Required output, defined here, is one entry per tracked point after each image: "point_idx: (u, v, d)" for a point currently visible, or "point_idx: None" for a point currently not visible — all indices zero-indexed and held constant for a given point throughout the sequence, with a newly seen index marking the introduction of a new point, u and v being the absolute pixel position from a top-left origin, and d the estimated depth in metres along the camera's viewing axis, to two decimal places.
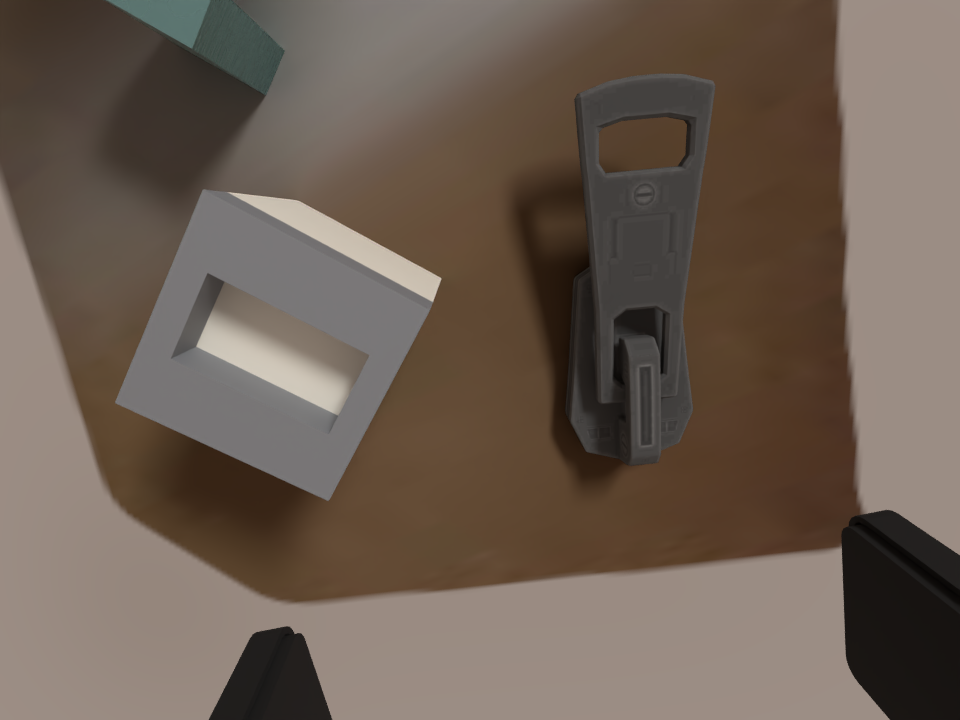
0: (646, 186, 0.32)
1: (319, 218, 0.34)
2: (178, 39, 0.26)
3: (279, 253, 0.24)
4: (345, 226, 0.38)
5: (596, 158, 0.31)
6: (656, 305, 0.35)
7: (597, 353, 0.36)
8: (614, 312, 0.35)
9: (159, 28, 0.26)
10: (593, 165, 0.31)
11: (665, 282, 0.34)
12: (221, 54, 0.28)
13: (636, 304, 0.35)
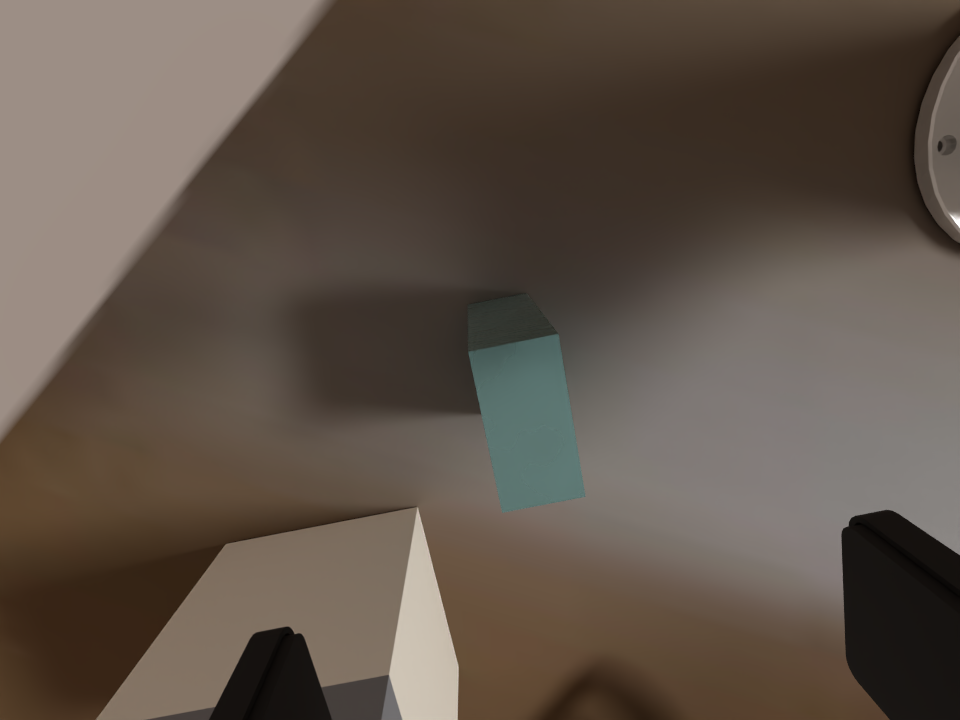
0: None
1: (423, 582, 0.28)
2: (500, 496, 0.19)
3: None
4: (431, 562, 0.31)
5: None
6: None
7: None
8: None
9: (495, 471, 0.19)
10: None
11: None
12: None
13: None
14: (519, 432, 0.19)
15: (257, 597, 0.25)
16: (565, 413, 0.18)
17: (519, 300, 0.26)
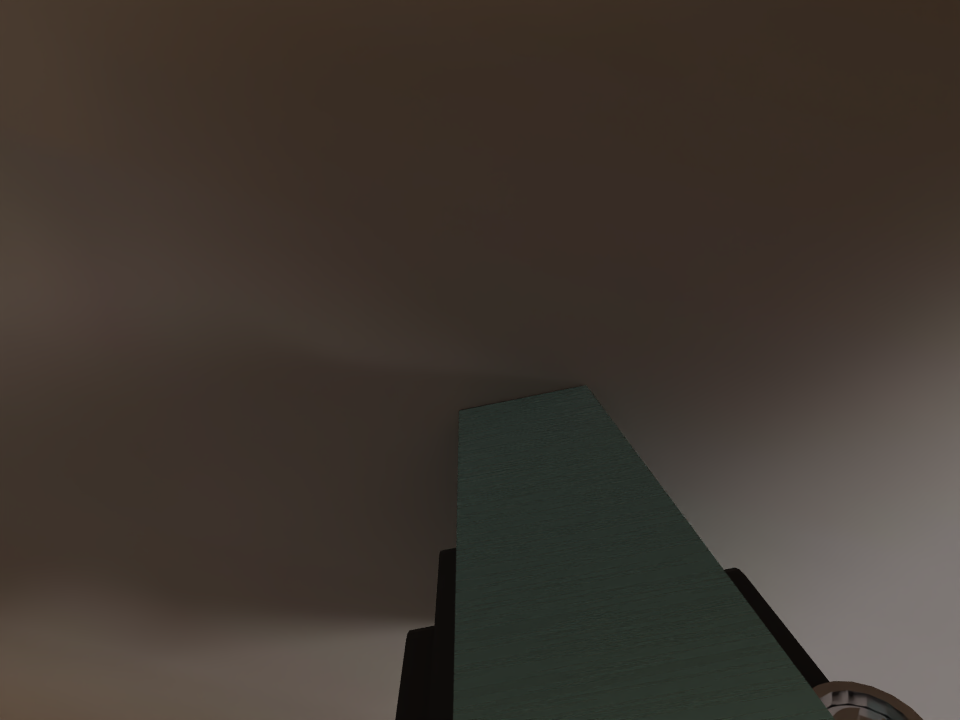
0: None
1: None
2: None
3: None
4: None
5: None
6: None
7: None
8: None
9: None
10: None
11: None
12: None
13: None
14: None
15: None
16: None
17: (581, 418, 0.11)
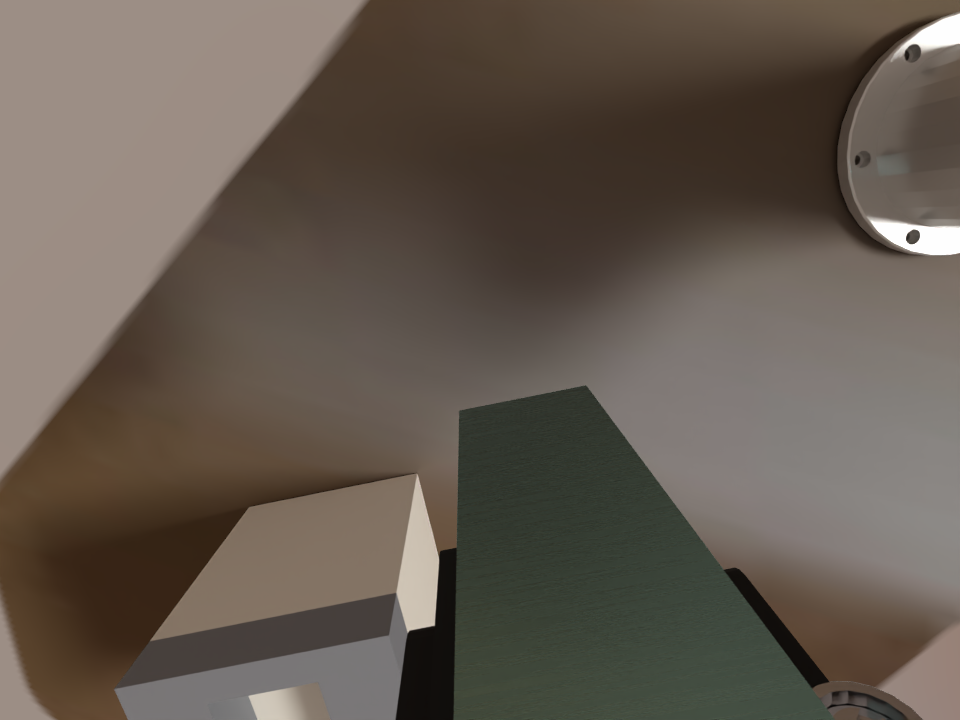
0: None
1: (422, 535, 0.32)
2: None
3: (389, 719, 0.22)
4: (429, 522, 0.35)
5: None
6: None
7: None
8: None
9: None
10: None
11: None
12: None
13: None
14: None
15: (281, 544, 0.29)
16: None
17: (581, 418, 0.11)
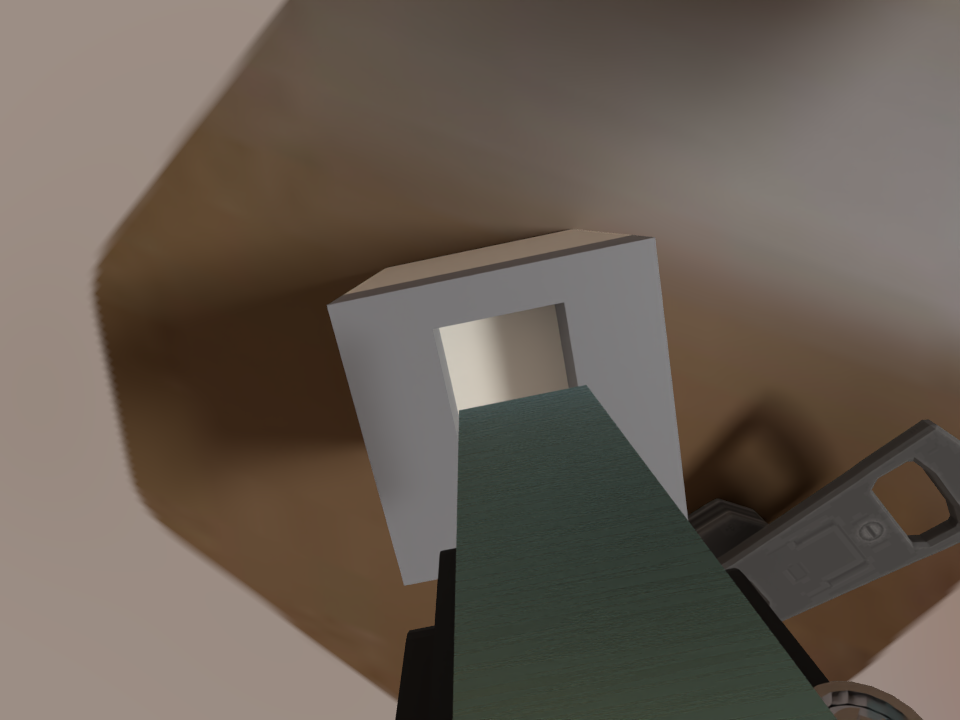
0: (879, 528, 0.30)
1: None
2: None
3: (641, 358, 0.19)
4: None
5: (883, 474, 0.29)
6: (769, 602, 0.33)
7: None
8: None
9: None
10: (875, 476, 0.29)
11: (796, 595, 0.32)
12: None
13: (760, 586, 0.32)
14: None
15: (450, 261, 0.26)
16: None
17: (581, 418, 0.11)
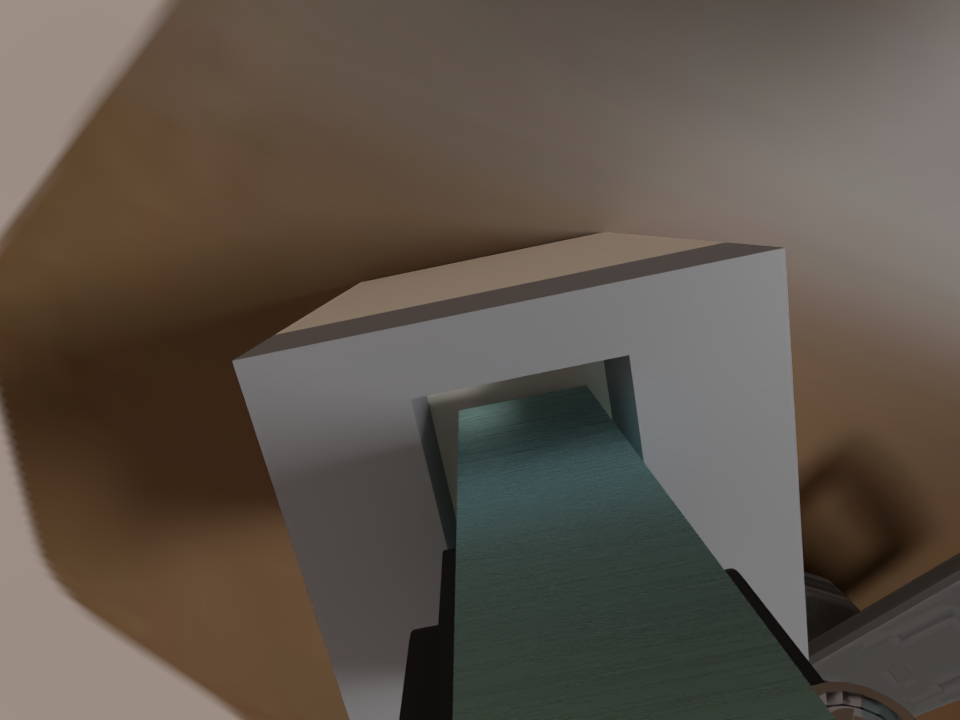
0: None
1: None
2: None
3: (752, 443, 0.12)
4: None
5: None
6: None
7: None
8: (825, 675, 0.25)
9: None
10: None
11: (896, 701, 0.25)
12: None
13: None
14: None
15: (443, 276, 0.19)
16: None
17: (581, 418, 0.11)
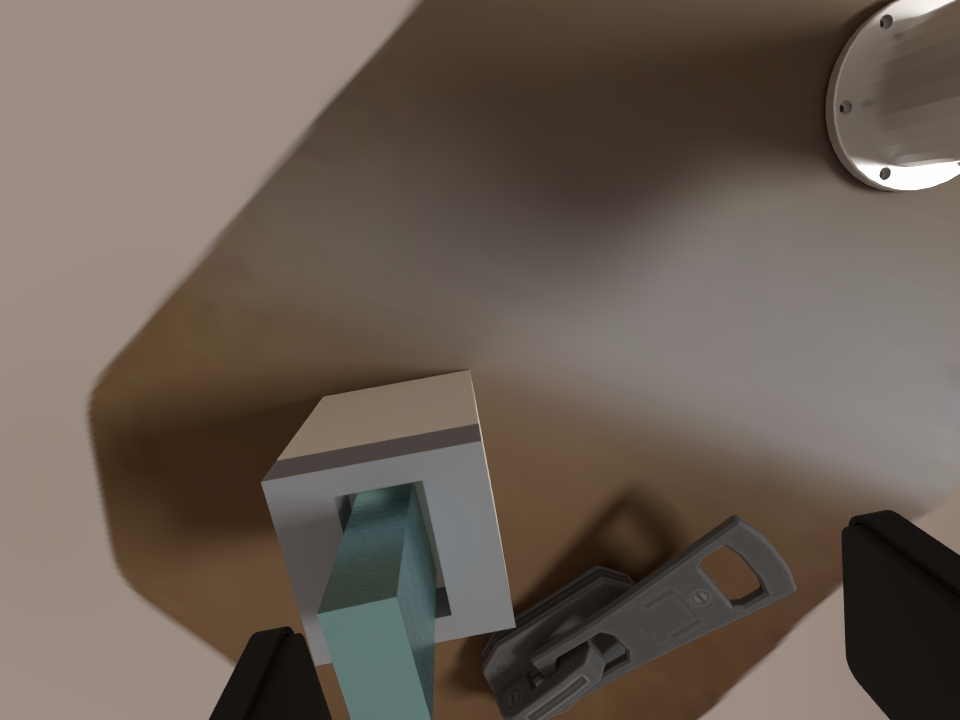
0: (706, 595, 0.40)
1: None
2: None
3: (476, 515, 0.28)
4: None
5: (705, 556, 0.39)
6: (630, 651, 0.42)
7: (567, 637, 0.42)
8: (606, 630, 0.41)
9: (349, 708, 0.21)
10: (699, 557, 0.39)
11: (649, 645, 0.41)
12: None
13: (622, 639, 0.41)
14: (368, 676, 0.21)
15: (365, 411, 0.35)
16: (408, 659, 0.21)
17: (400, 496, 0.28)
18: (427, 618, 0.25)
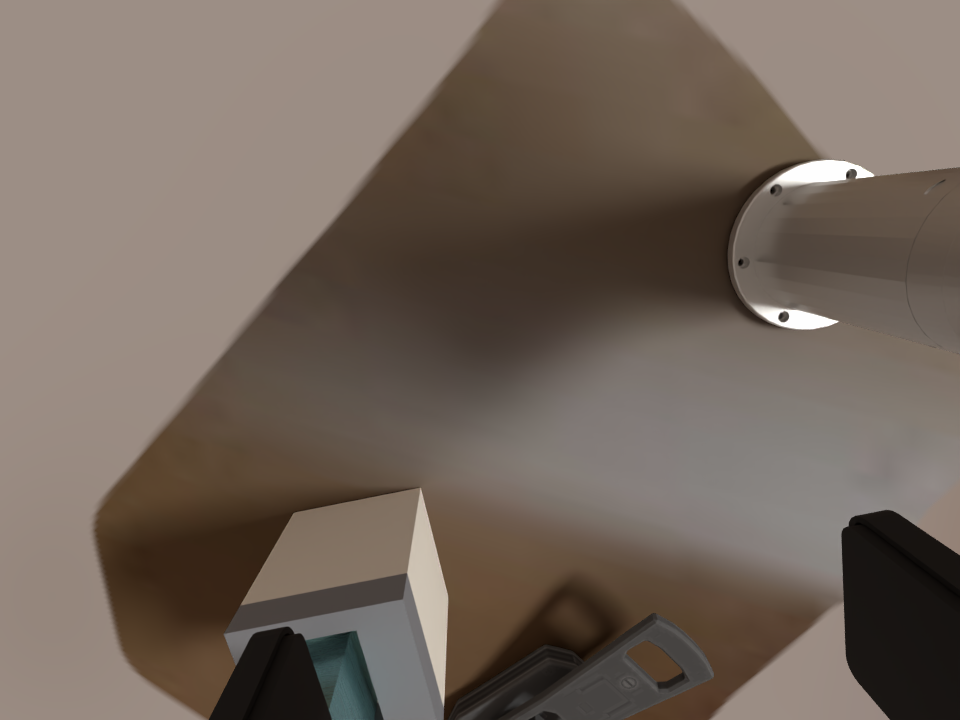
0: (634, 681, 0.45)
1: (424, 534, 0.44)
2: None
3: (403, 656, 0.34)
4: (429, 524, 0.47)
5: (629, 648, 0.44)
6: None
7: (516, 714, 0.47)
8: (549, 709, 0.47)
9: None
10: (624, 650, 0.44)
11: None
12: None
13: (563, 716, 0.47)
14: None
15: (323, 540, 0.41)
16: None
17: (340, 639, 0.34)
18: None
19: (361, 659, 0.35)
